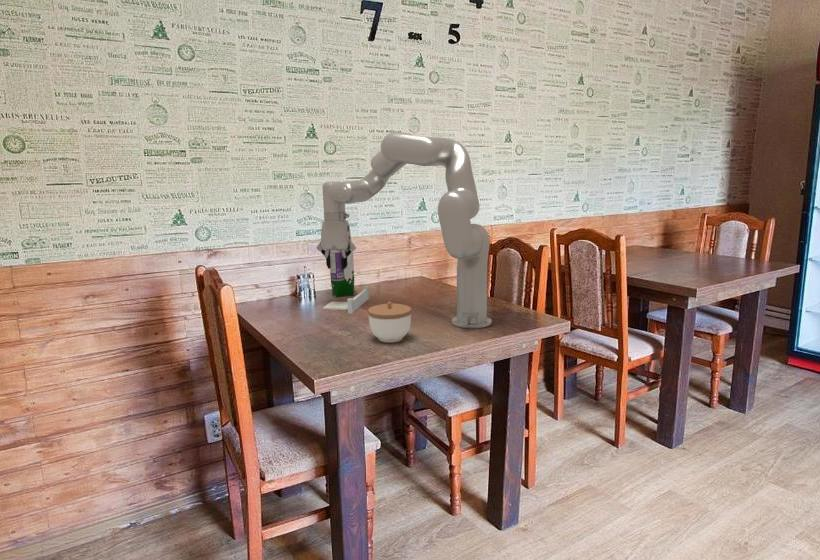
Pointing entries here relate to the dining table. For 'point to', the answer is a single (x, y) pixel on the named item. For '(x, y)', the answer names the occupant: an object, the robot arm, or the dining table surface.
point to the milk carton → (345, 280)
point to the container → (336, 264)
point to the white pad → (336, 306)
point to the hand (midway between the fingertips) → (337, 267)
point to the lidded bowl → (389, 321)
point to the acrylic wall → (358, 300)
